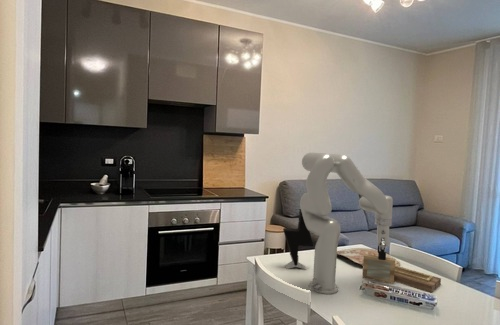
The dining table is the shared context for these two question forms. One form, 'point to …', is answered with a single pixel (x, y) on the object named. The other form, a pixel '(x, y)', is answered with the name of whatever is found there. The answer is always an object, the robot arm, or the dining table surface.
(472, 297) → the dining table surface
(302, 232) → the award
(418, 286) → the display stand
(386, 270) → the wooden plaque
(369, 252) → the poster
